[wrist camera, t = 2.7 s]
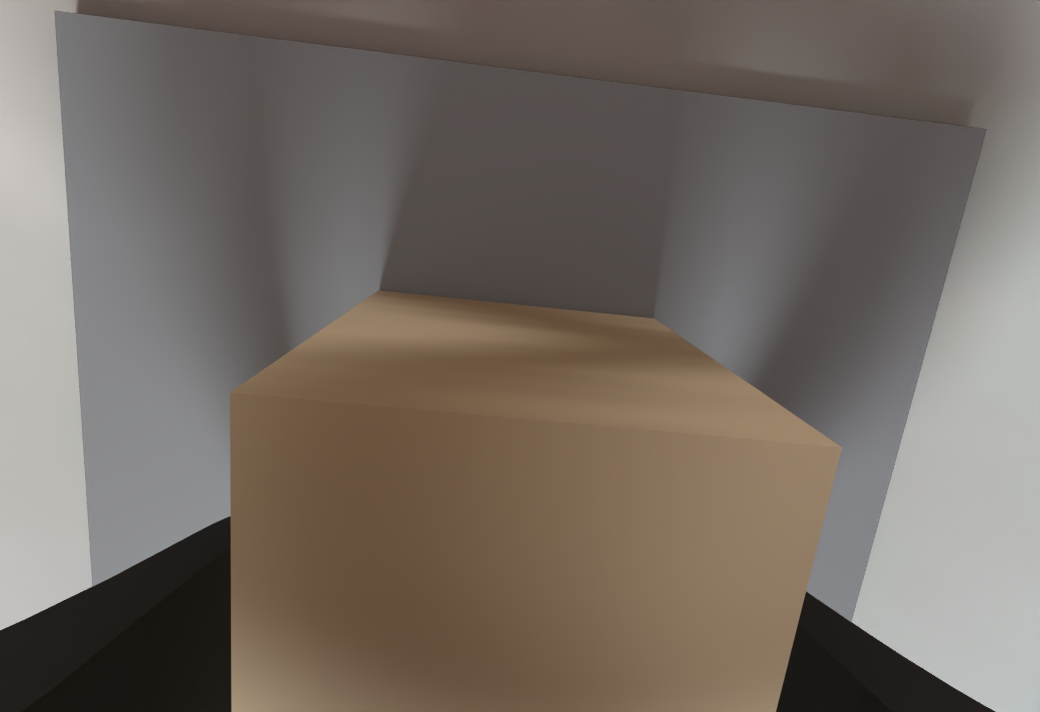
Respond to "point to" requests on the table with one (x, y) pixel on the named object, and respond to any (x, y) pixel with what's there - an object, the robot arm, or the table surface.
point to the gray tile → (474, 243)
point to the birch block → (514, 518)
